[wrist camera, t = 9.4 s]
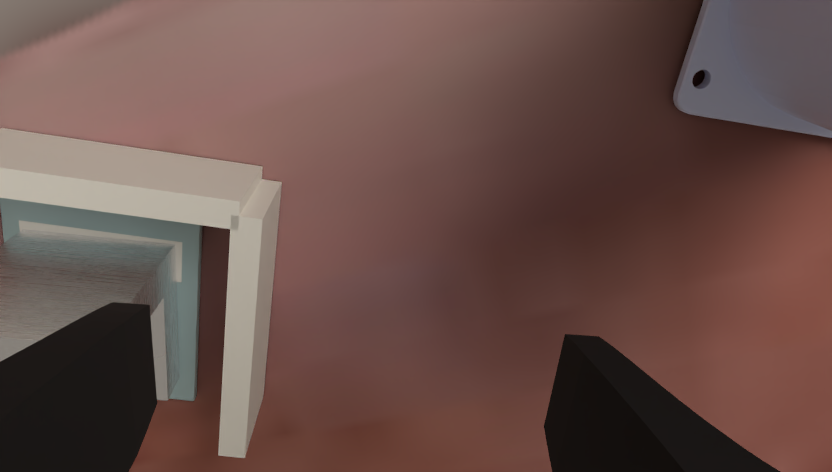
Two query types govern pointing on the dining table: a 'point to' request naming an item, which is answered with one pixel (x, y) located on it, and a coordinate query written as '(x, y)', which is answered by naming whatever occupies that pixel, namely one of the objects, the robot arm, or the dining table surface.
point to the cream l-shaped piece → (180, 202)
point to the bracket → (87, 290)
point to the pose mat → (130, 228)
